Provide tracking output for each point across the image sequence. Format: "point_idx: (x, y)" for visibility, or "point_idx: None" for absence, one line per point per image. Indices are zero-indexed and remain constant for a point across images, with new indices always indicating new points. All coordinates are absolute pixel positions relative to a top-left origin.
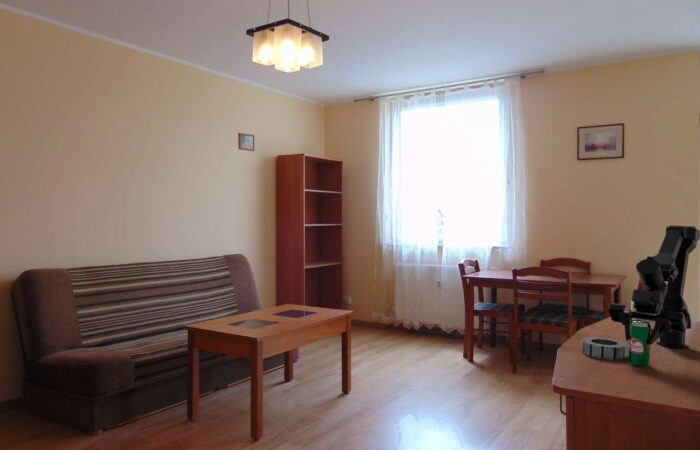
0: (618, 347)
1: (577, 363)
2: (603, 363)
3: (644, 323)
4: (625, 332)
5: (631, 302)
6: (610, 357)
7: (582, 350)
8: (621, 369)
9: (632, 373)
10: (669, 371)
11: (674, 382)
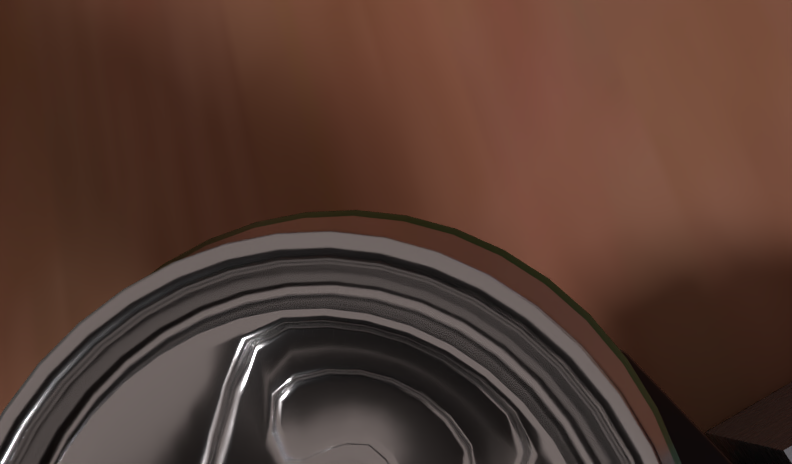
0: None
1: None
2: (715, 185)
3: (89, 326)
4: (702, 438)
5: None
6: (746, 414)
7: None
8: (490, 101)
9: (366, 45)
10: None
11: (13, 48)
